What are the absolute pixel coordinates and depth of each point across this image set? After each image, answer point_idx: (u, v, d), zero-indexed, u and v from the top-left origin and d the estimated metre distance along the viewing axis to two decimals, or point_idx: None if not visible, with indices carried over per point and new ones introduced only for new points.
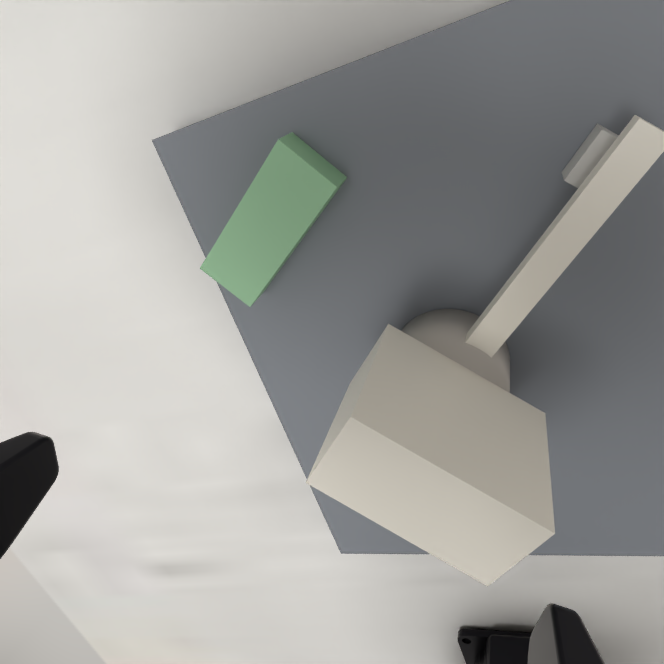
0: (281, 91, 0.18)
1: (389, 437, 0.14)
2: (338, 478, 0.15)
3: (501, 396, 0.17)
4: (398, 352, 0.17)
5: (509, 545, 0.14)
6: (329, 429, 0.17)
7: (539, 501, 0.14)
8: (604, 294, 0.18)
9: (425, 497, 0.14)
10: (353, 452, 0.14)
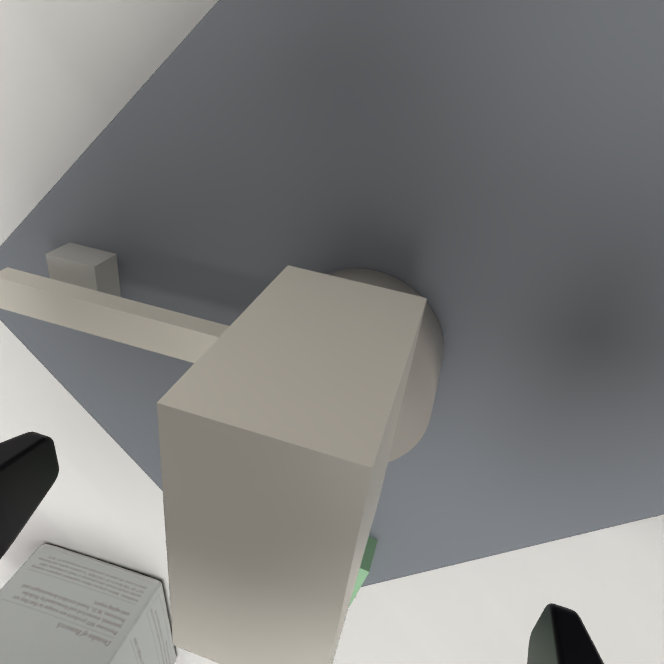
0: None
1: (173, 607, 0.10)
2: None
3: None
4: None
5: (234, 457, 0.07)
6: (353, 588, 0.12)
7: None
8: (195, 206, 0.14)
9: (231, 573, 0.09)
10: (222, 647, 0.10)
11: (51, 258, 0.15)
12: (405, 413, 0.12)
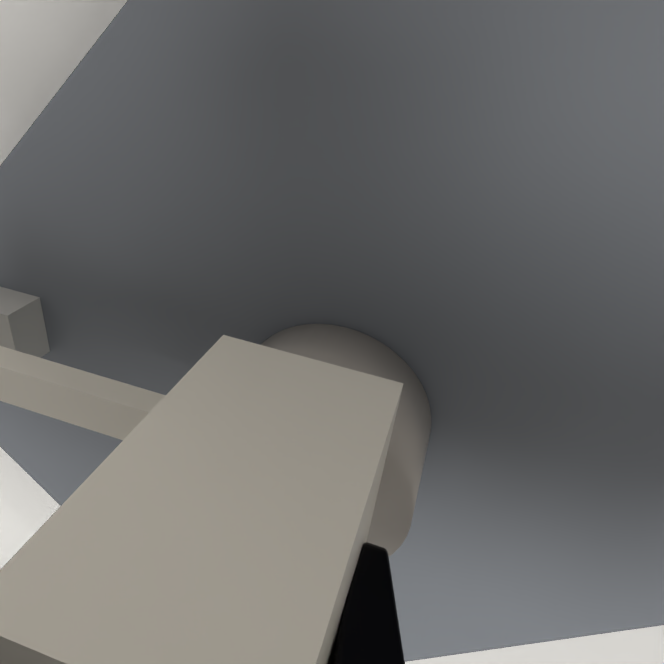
0: None
1: None
2: None
3: None
4: None
5: None
6: None
7: None
8: (126, 244, 0.12)
9: None
10: None
11: None
12: (380, 517, 0.10)
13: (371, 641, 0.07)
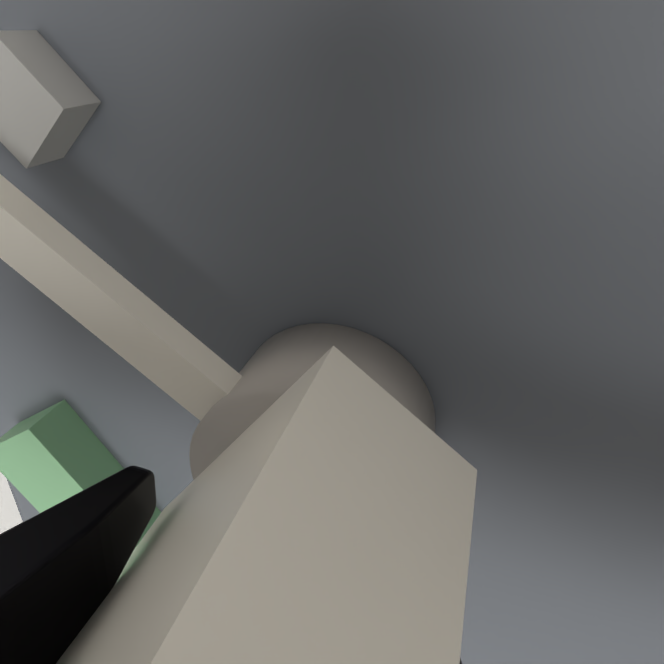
0: None
1: None
2: None
3: (263, 419, 0.09)
4: (141, 545, 0.10)
5: None
6: None
7: (171, 606, 0.05)
8: (262, 141, 0.10)
9: None
10: None
11: None
12: None
13: None
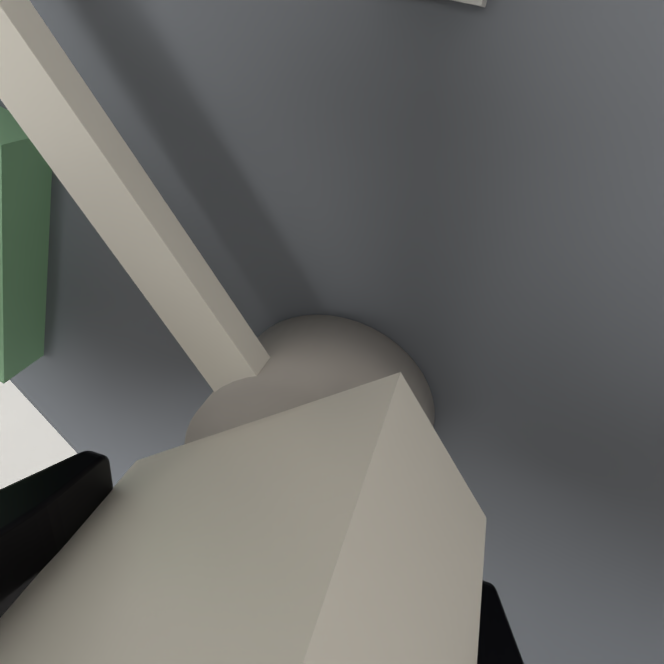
0: None
1: None
2: None
3: (300, 419, 0.08)
4: (117, 501, 0.09)
5: None
6: None
7: (266, 656, 0.05)
8: (554, 218, 0.09)
9: None
10: None
11: None
12: None
13: None
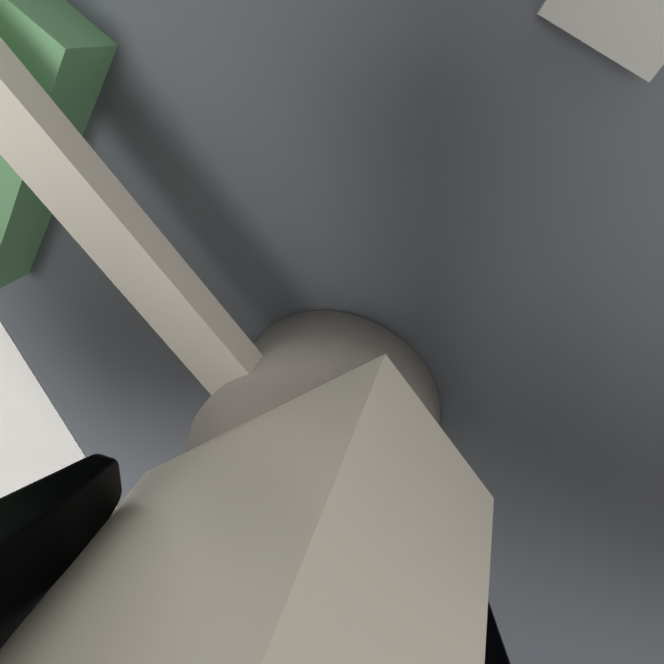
0: None
1: None
2: None
3: (291, 411, 0.08)
4: (125, 511, 0.09)
5: None
6: None
7: (240, 635, 0.04)
8: (619, 291, 0.09)
9: None
10: None
11: None
12: None
13: None
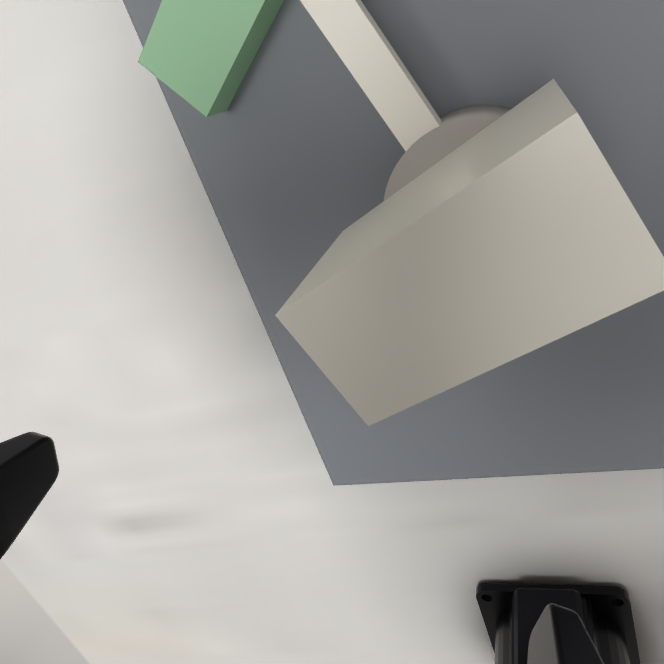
0: None
1: (318, 285, 0.10)
2: (370, 384, 0.10)
3: (483, 132, 0.12)
4: (349, 233, 0.13)
5: (581, 203, 0.08)
6: None
7: (545, 122, 0.08)
8: None
9: (433, 289, 0.09)
10: (330, 342, 0.10)
11: None
12: None
13: None
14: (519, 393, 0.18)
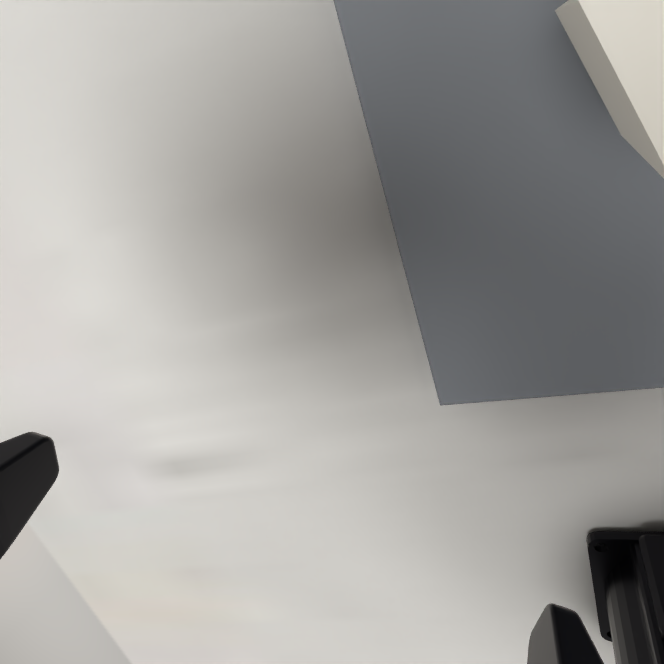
0: None
1: None
2: None
3: None
4: None
5: None
6: (644, 158, 0.10)
7: None
8: None
9: None
10: (662, 40, 0.07)
11: None
12: None
13: None
14: None
